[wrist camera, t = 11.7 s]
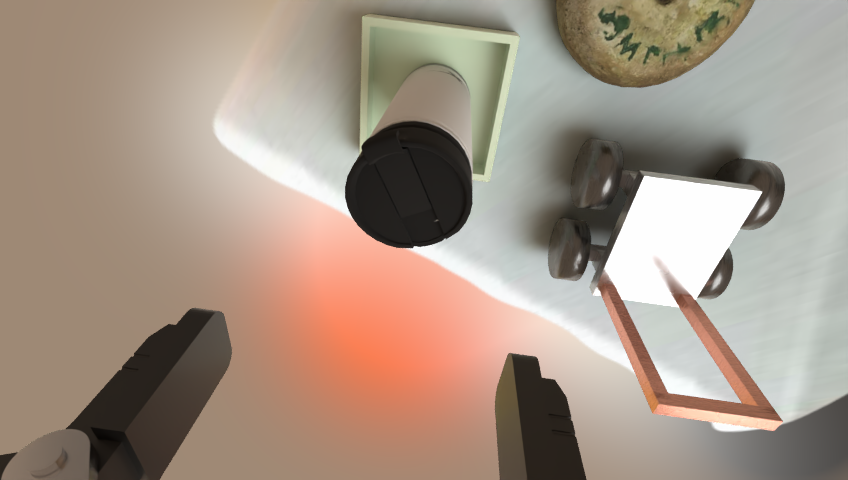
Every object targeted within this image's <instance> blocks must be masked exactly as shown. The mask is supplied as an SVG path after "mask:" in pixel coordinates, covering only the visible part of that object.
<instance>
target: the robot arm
mask: <svg viewBox="0 0 848 480" xmlns="http://www.w3.org/2000/svg"><path fill="white" fill-rule="evenodd" d="M231 354H232V349H231V343H230V339H229V335H228V331H227V326H226V321H225V317H224V314H223V313H222V312H220V311H213V310H205V309H199V308H192V309H190V310H189V311H188V312H187V313H186V314H185V315H184V316H183V317H182V318H181V320H180V321H179V322H178V323H177V324H176V325H171V324H168V325H167V326H165V327H163V328H162V329H160V330H159V331H157V332H156V333H154V334H153V335H151V336H150V337H148V338H147V339H146V341H145V342H144V343H143V344H142V345H141V346H140V347H139V348H138V350H137V351H136V352H135V353H134V356H133V357H130V359H129V360H128V361H127V362H126V363H125V364H124V365H123V366H122V370H119V371H118V372H117V373H116V374H115V375H114V377H113V378H112V379H111V380H110V381H109V382H108V383H107V384H106V385H105V387H104V388H103V389H102V390H101V391H100V392H99V393H98V394H97V396H96V397H95V398H94V399H93V400H92V401H91V402H90V403H89V405H88V406H87V407H86V408H85V409H84V410H83V411H82V412H81V414H80V415H79V416H78V417H77V418H76V419H75V420H74V421H73V422H72V423H71V424H70V425H69V426H68V427H67V428H66V429H64V430H58V431H55V432H51V433H49V434H46V435H44V436H42V437H40V438H38V439H36V440H35V441H33V442H31V443H30V444H28V445H27V446H25V447H24V448H23V449H21V450H20V451H19V452H17V453H11V454H5V455H0V480H160V478H161V476H162V475H163V473H164V471H165V470H166V468H167V467H168V465H169V463H170V462H171V460H172V458H173V457H174V455H175V454H176V452H177V450H178V449H179V447H180V445H181V444H182V442H183V441H184V439H185V437H186V436H187V434H188V432H189V431H190V429H191V427H192V426H193V424H194V423H195V421H196V419H197V418H198V416H199V414H200V413H201V411H202V410H203V408H204V406H205V405H206V403H207V401H208V400H209V398H210V397H211V395H212V393H213V392H214V390H215V388H216V387H217V385H218V384H219V382H220V380H221V379H222V377H223V375H224V374H225V372H226V370H227V368H228V366H229V363H230V360H231ZM495 415H496V429H497V444H498V458H499V473H500V480H586V476H585V472H584V468H583V464H582V460H581V455H580V451H579V447H578V443H577V439H576V437H575V430H574V426H573V422H572V421H571V414H570V410H569V406H568V401H567V398H566V396H565V394H564V393H563V391H562V390H561V388H560V387H559V385H558V384H557V382H556V381H555V380H553V379H546V378H542V377H541V372H540V366H539V362H538V359H537V357H534V356H527V355H519V354H512V353H509V354H508V356H507V359H506V362H505V365H504V368H503V371H502V374H501V377H500V380H499V383H498V386H497V391H496V399H495Z"/></svg>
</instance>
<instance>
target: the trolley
mask: <svg viewBox="0 0 848 480" xmlns="http://www.w3.org/2000/svg"><path fill="white" fill-rule="evenodd" d="M618 187H621V188H623V189H622V190H623V192H624V193H625V194H626V195H627V199H626V202H625V204H624V207H623V209H622V211H621V214H620V216H619V218H618V221H617V223H616V225H615V228H614V230H613V232H612V235H611V237H610V240H609V242H608V244H607V246H601V245H594V244H591V235H590V229H589V226H588V224H587V223H586V222H585V221H581V220H574V219H567V218H561V219H559V220H558V222H557V223H556V225H555V227H554V229H553V232H552V235H551V239H550V245H549V252H548V266H549V271H550V274H551V276H552V277H553V278H557V279H564V280H571V281H577V280H579V279H580V278H581V277H582V275H583V273H584V271H585V269H586V267H587V263H588V261H593V262H592V264H593V266H594V268H595V270H596V273H595V275H594V277H593V280H592V282H591V284H590V290H591V292H592V295H595V296H602V298H603V300H604V302H605V305H606V307H607V309H608V312H609V314H610V316H611V319H612V321H613V323H614V325H615V328H616V330H617V332H618V335H619V337H620V339H621V342H622V344H623V346H624V349H625V351H626V353H627V355H628V358H629V360H630V362H631V365H632V367H633V369H634V372H635V374H636V376H637V378H638V381H639V383H640V385H641V388H642V390H643V392H644V395H645V397H646V399H647V401H648V404H649V406H650V408H651V411H652V413H653V414H660V415H668V416H674V417H681V418H688V419H695V420H703V421H709V422H716V423H723V424H731V425H738V426H745V427H752V428H759V429H766V430H773V431H774V430H775V429H776V428H777V427H778V426H779V425H780V424H781V423H782V422H783V421H782V420H781V418H780V417H779V415H778V414H777V413H776V411H775V410H774V408H773V407H772V406H771V404H770V403H769V402H768V400H767V399H766V397H765V396H764V395H763V393H762V392H761V390H760V389H759V388H758V386H757V385H756V383H755V382H754V381H753V379H752V378H751V377H750V375H749V374H748V372H747V371H746V370H745V368H744V367H743V365H742V364H741V363H740V361H739V360H738V359H737V357H736V356H735V354H734V353H733V352H732V350H731V349H730V347H729V346H728V345H727V343H726V342H725V341H724V339H723V338H722V336H721V335H720V334H719V332H718V331H717V329H716V328H715V327H714V325H713V324H712V323H711V321H710V320H709V318H708V317H707V316H706V314H705V313H704V311H703V310H702V309H701V307H700V306H699V305H698V303H697V302H696V300H695V299H696V298H703V299H713V298H716V297H718V296H719V295H721V294H722V293H723V292H724V291H725V289H726V288H727V286H728V284H729V282H730V280H731V276H732V272H733V259H732V254H731V251H730V249H729V248H728V246H729V245H730V243H731V242H732V240H733V238H734V237H735V235H736V234H737V232H738V230H739V229H744V230H754V229H757V228H760V227H762V226H763V225H765V224H766V223H768V222H769V221H770V220H771V219H772V218H773V217H774V215H775V214H776V213H777V211H778V209H779V207H780V205H781V203H782V200H783V197H784V191H785V182H784V177H783V174H782V172H781V170H780V169H779V168H778V167H777V166H776V165H775V164H773V163H771V162H766V161H758V160H751V159H742V158H740V159H735V160H733V161H730V162H729V163H727V164H726V165H725V166H724V167H723V168H721V170H720V171H719V172H718V173H717V175H716V176H715V178H714V180H709V179H702V178H694V177H686V176H679V175H671V174H664V173H656V172H649V171H641V170H639V171H638V172H637V171H630V170H623V152H622V148H621V146H620V145H619V143H617V142H613V141H606V140H598V139H589V140H587V141H586V142H585V143H584V145H583V146H582V148H581V150H580V152H579V154H578V156H577V159H576V162H575V166H574V170H573V175H572V182H571V196H572V201H573V204H574V205H575V206H576V207H580V208H587V209H595V210H604V209H605V208H607V207H608V206H609V205H610V203H611V202H612V200H613V199H614V197H615V195H616V193H617V190H618ZM622 299H624V300H632V301H639V302H646V303H653V304H661V305H668V306H675V307H679V308H680V309H681V311H682V312H683V314H684V315H685V317H686V318H687V320H688V321H689V323H690V324H691V326H692V327H693V329H694V330H695V332H696V333H697V335H698V337H699V338H700V340H701V341H702V343H703V344H704V346H705V347H706V349H707V350H708V352H709V353H710V355H711V356H712V358H713V359H714V361H715V362H716V364H717V365H718V367H719V368H720V370H721V372H722V373H723V375H724V376H725V378H726V379H727V381H728V382H729V384H730V385H731V387H732V388H733V390H734V391H735V393H736V394H737V396H738V397H739V399H740V400H741V402H742V404H741V403H734V402H727V401H720V400H713V399H706V398H699V397H692V396H684V395H677V394H670V393H668V392H667V390H666V388H665V386H664V384H663V382H662V380H661V378H660V376H659V374H658V372H657V370H656V368H655V366H654V364H653V362H652V360H651V358H650V356H649V354H648V352H647V350H646V348H645V345H644V343H643V341H642V339H641V337H640V335H639V333H638V331H637V329H636V327H635V325H634V323H633V321H632V319H631V317H630V315H629V313H628V311H627V309H626V307H625V305H624V303H623V301H622Z"/></svg>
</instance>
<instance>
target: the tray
mask: <svg viewBox="0 0 848 480" xmlns="http://www.w3.org/2000/svg"><path fill="white" fill-rule="evenodd" d="M519 39H520V36H519V35H518V34H517V33H516V32H510V31H502V30H494V29H486V28H478V27H471V26H463V25H455V24H447V23H439V22H431V21H424V20H416V19H408V18H400V17H392V16H384V15H376V14H367V15H364V16H362V47H361V99H360V152H359V155H360V153H361V151H362V149H361V146H362V144H363V143H364V142H365V141H366V140H367V139H368V138H369V137H370V135H371V134H372V132H373V130H374V129H375V127H376V126H377V124H378V122H379V121H380V119H381V118H382V116H383V114H384V113H385V111H386V110H387V108H388V106H389V105H390V103H391V102H392V100H393V98H394V97H395V95H396V93H397V92H398V90H399V89H400V87H401V85H402V84H403V82H404V81H405V79H406V78H407V77H408V75H409V74H410V73H411V72H412V71H414V70H415V69H416V68H418V67H420V66H422V65H426V64H431V63H438V64H444V65H447V66H449V67H451V68H453V69H454V70H456V71H457V72H458V73H459V74H460V75H461V76H462V77H463V78H464V80H465V81H466V83H467V86H468V88H469V92H470V102H471V132H472V162H473V180H478V181H485V182H489V181H490V176H491V172H492V167H493V162H494V157H495V153H496V148H497V143H498V138H499V134H500V129H501V124H502V120H503V115H504V110H505V105H506V101H507V96H508V91H509V86H510V82H511V77H512V72H513V67H514V63H515V58H516V53H517V49H518V44H519Z"/></svg>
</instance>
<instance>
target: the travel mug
mask: <svg viewBox="0 0 848 480" xmlns="http://www.w3.org/2000/svg"><path fill="white" fill-rule="evenodd" d="M361 149H362V151H361V153H360V155H359V157H358V159H357V160H356V162H355V163H354V165H353V167H352V169H351V171H350V173H349V175H348V177H347V181H346V186H345V198H346V203H347V207H348V209H349V212H350V214H351V216H352V218H353V219H354V220H355V222H356V223H357V225H358V226H359V227H360V228H361V229H362V230H363V231H365V232H366V234H368V235H369V236H371V237H372V238H374V239H375V240H377V241H380V242H382V243H384V244H386V245H389V246H393V247H396V248H413V246H418V247H422V246H428V245H432V244H435V243H438V242H441V241H442V240H443V239H445V238H446V239H447V238H449V237H450V236H452V235H454V234H455V233H457V232H458V231H459V230H460V229H461V228H462V227H463V225H464V224H465V223H466V221H467V219H468V217H469V215H470V211H471V207H472V183H473V162H472V132H471V102H470V92H469V88H468V86H467V83H466V81H465V80H464V78H463V77H462V76H461V75H460V74H459V73H458V72H457V71H456V70H454V69H453V68H451V67H449V66H447V65H444V64H438V63H431V64H426V65H422V66H420V67H418V68H416V69H415V70H414V71H412V72H411V73H410V74H409V75H408V77H407V78H406V79H405V81H404V82H403V84H402V85H401V87H400V89H399V90H398V92H397V93H396V95H395V97H394V98H393V100H392V102H391V103H390V105H389V106H388V108H387V110H386V111H385V113H384V114H383V116H382V118H381V119H380V121H379V122H378V124H377V126H376V127H375V129H374V130H373V132H372V134H371V135H370V137H369V138H368V139H367V140H366V141H365V142H364V143H363V144H362V146H361Z"/></svg>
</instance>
